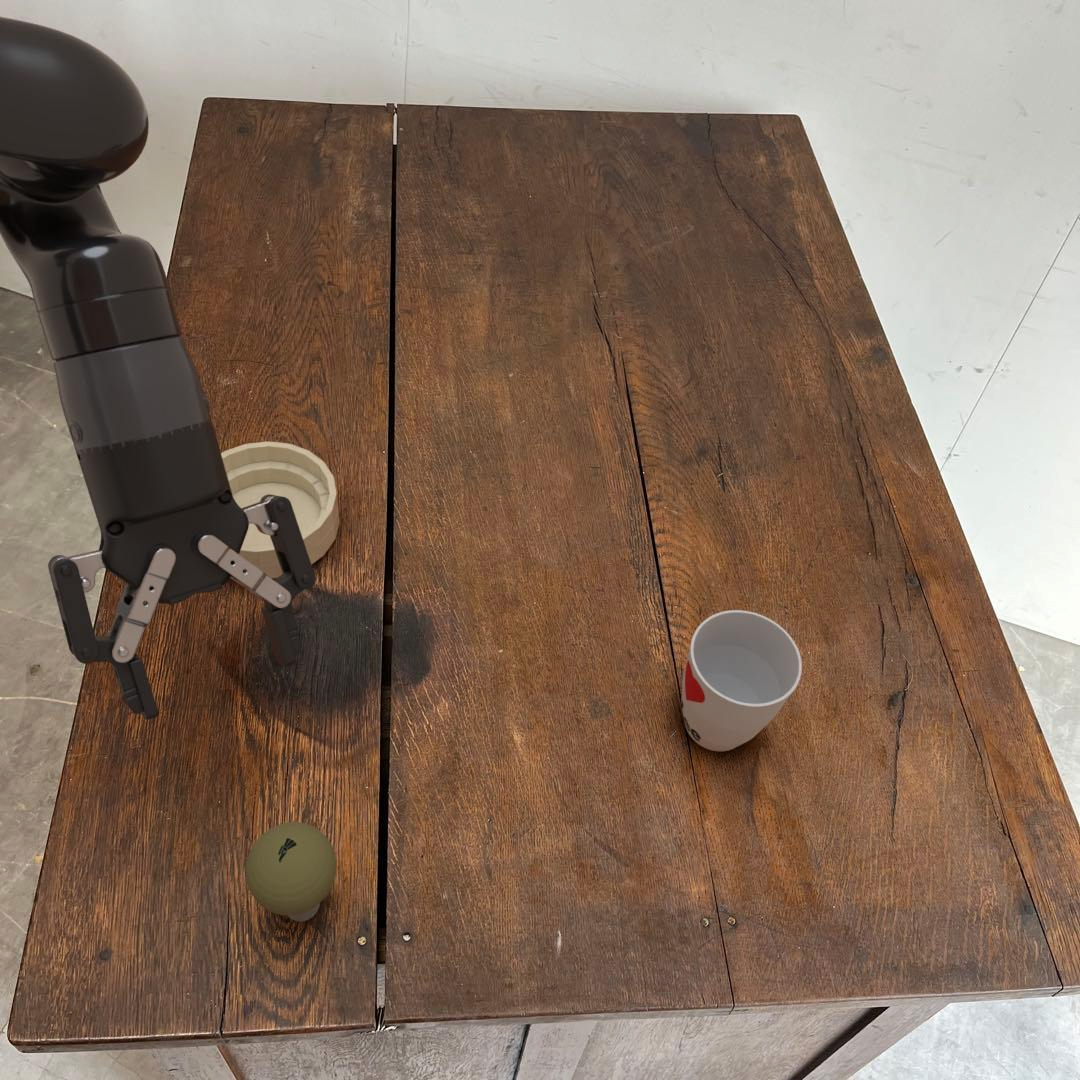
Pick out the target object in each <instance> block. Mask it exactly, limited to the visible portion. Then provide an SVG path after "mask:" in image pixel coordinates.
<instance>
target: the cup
mask: <svg viewBox="0 0 1080 1080" xmlns="http://www.w3.org/2000/svg"><path fill="white" fill-rule="evenodd" d="M802 670H803V663H802V657H801V654H800V650H799V648H798V646H797V644H796V642H795V641H794V639H793V638H792V637H791V635H790V633H788V632H787V631H786V630H785V629H784V628H783V627H782V626H781V625H779V624H778V623H777V622H775V621H774V620H773V619H770V618H769V617H766V616H764V615H762V614H760V613H757V612H754V611H748V610H742V609H732V610H724V611H721V612H717V613H714V614H713V615H710V616H709V617H707V618H706V619H705V620H703V621H702V622H701V623H700V624H699V626H697V628H696V629H695V631H694V633H693V636H692V638H691V642H690V645H689V650H688V653H687V657H686V661H685V664H684V669H683V671H682V683H681V684H682V685H681V697H680V704H681V705H680V706H681V707H680V708H681V711H682V712H681V713H682V717H683V721H684V727H685V728H686V731H687V733H688V735H689V736H690V738H691V739H692V740H693V741H694V742H695V743H696V744H697V745H698V746H700V747H702V748H704V749H706V750H709V751H713V752H727V751H732V750H734V749H735V748H737V747H739V746H741V745H744V744H745V743H747V742H749V741H751V740H752V739H753V738H754V737H756V736H757V735H758V734H759V733H760V732H762V730H763V729H765V727H766V726H768V725H769V724H770V723H771V721H773V719H775V717H776V716H777V715H778V713H779V712H780V711H781V709H782V708H783V707H784V705H785V704H786V702H787V701H788V699H789V698H790V697H791V695H792V694H793V693H794V691H795V690H796V688H797V686H798V685H799V683H800V680H801V676H802V672H803V671H802Z"/></svg>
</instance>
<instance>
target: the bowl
mask: <svg viewBox="0 0 1080 1080" xmlns="http://www.w3.org/2000/svg"><path fill="white" fill-rule="evenodd" d="M221 456H222V459H223V463H224V466H225V470H226V473H227V477H228V480H229V484H230V488H231V491H232V495H233V498H234V500H235V501H236V503H237V504H238V506H239V507H240V508H244V507H247V506H250V505H252V504H255V503H258V502H260V500H261V499H262V497H263V496H265V495H268V494H270V495H276V496H282V497H286V498H288V499H289V500H290V502H291V505H292V508H293V511H294V514H295V517H296V520H297V523H298V526H299V529H300V532H301V535H302V538H303V541H304V544H305V547H306V550H307V553H308V556H309V559H310V562H311V565H312V566H313V564H314V563H316V562H317V561H319V560H320V559H321V558H322V557H323V556H325V555H326V553H327V552H328V550H329V549H330V548H331V546H332V545H333V543H334V542H335V540H336V538H337V535H338V530H339V528H340V523H341V522H340V521H341V520H340V511H339V504H338V503H339V502H338V493H337V488H336V481H335V476H334V475H333V473H332V472H331V470H330V469H329V467H328V466H327V464H326V462H325V461H324V460H323V459H321V458H320V457H319V456H317V455H316V454H315V453H313V452H311V451H310V450H308V449H306V448H303V447H300V446H298V445H295V444H292V443H288V442H287V443H286V442H279V441H278V442H277V441H260V442H259V441H258V442H249V443H244V444H241V445H238V446H235V447H232V448H230V449H227V450H224V451H222V452H221ZM239 555H240V556H242V557H243V558H244V559H246V560H247V561H249V562H250V563H251V564H253V565H254V566H256V567H257V568H258V569H260V570H261V571H263V572H264V573H265V574H266V575H267V576H268V577H270V578H271V579H272V580H273V579H277V578H278V577H279V576H281V575H282V574H283V572H282V569H281V567H280V564H279V561H278V558H277V555H276V552H275V549H274V546H273V543H272V540H271V537H270V535H266V534H263V533H261V532H259V530H258V529H257V527H256V526H255V525H254V524H253V523H252V524H249V528H248V531H247V534H246V537H245V539H244V542H243V545H242V547H241V550H240V553H239Z"/></svg>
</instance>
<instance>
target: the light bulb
mask: <svg viewBox="0 0 1080 1080" xmlns="http://www.w3.org/2000/svg"><path fill="white" fill-rule="evenodd" d="M337 863H338V862H337V857H336V851H335V849H334V846H333V844H332V843H331V841H330V840H329V838H328V837H327V835H325V834H324V833H323V832H322V831H321V830H320V829H318V828H316V827H315V826H314V825H311V824H308V823H305V822H300V821H289V822H288V821H287V822H283V823H279V824H277V825H274V826H273V827H271V828H269V829H268V830H265V832H263V833H262V834H261V835H260V836H259V837H258V839H257V840H256V841H255V842H254V844H253V845H252V847H251V849H250V851H249V853H248V856H247V859H246V864H245V881H246V884H247V888H248V890H249V892H250V894H251V896H252V897H253V899H254V900H255V901H256V902H257V903H258V905H260V906H261V907H262V908H263V909H265V910H266V911H268V912H270V913H273V914H276V915H280V916H287V917H288V918H289V919H290V920H292V921H295V922H306V921H308V920H310V919H312V918H313V917H314V916H315V915H316V914H317V912H318V911H319V909H320V905H321V903H322V902H323V900H324V899H325V898H326V897H327V896H328V894H329V892H331V889H332V887H333V885H334V883H335V879H336V875H337V867H338V866H337Z"/></svg>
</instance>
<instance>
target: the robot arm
mask: <svg viewBox="0 0 1080 1080" xmlns="http://www.w3.org/2000/svg"><path fill="white" fill-rule="evenodd" d="M149 125H150V123H149V113H148V109H147V106H146V103H145V100H144V98H143V96H142V94H141V92H140V90H139V88H138V87H137V85H136V83H135V82H134V80H133V79H132V78H131V77H130V75H129V74H128V72H127V71H125V69H124V68H123V67H122V66H121V65H120V64H119V63H117V62H116V61H115V60H114V59H113V58H111V57H110V56H109V55H108V54H106V53H105V52H104V51H102V50H100V49H99V48H97V47H96V46H94V45H93V44H91V43H89V42H87V41H86V40H83V39H81V38H79V37H77V36H74V35H72V34H70V33H67V32H65V31H62V30H58V29H56V28H52V27H49V26H46V25H42V24H38V23H33V22H29V21H25V20H20V19H15V18H11V17H5V16H0V236H1V238H2V241H3V242H4V243H5V246H6V248H7V249H8V251H9V253H10V254H11V256H12V257H13V259H14V261H15V262H16V264H17V265H18V267H19V268H20V270H21V272H22V273H23V275H24V277H25V278H26V281H27V282H28V284H29V286H30V291H31V293H32V297H33V298H32V299H33V302H34V305H35V310H36V313H38V314H37V316H38V319H39V322H40V327H41V328H42V333H43V335H44V338H45V339H44V340H45V341H46V345H47V349H48V351H49V355H50V357H51V360H52V361H53V367H54V372H55V376H56V382H57V383H56V384H57V389H58V395H59V400H60V405H61V409H62V412H63V416H64V418H65V422H66V425H67V428H68V431H69V435H70V438H71V441H72V444H73V448H74V451H75V453H76V456H77V460H78V463H79V466H80V469H81V472H82V475H83V479H84V482H85V485H86V489H87V492H88V495H89V498H90V501H91V505H92V507H93V508H92V509H93V510H94V514H95V517H96V519H97V520H96V521H97V524H98V527H99V531H100V543H99V547H98V549H97V550H92V551H89V552H84V553H83V552H82V553H79V554H75V555H71V556H67V555H63V554H58V555H55V556H53V557H51V558H50V559H49V561H48V563H47V568H48V573H49V576H50V580H51V583H52V588H53V593H54V596H55V599H56V600H55V601H56V603H57V604H56V605H57V607H58V611H59V614H60V615H59V616H60V619H61V623H62V627H63V631H64V634H65V638H66V642H67V646H68V650H69V652H70V653H71V654H72V655H73V656H74V657H75V659H76V660H77V661H78V662H79V663H81V664H83V665H89V664H92V663H101V662H103V663H109V664H111V666H112V669H113V672H114V676H115V678H116V681H117V685H118V687H119V690H120V693H121V697H122V700H123V703H124V704H125V705H126V706H127V708H128V709H129V710H130V711H131V712H132V713H133V715H138V714H140V715H141V716H142V717H143V718H144V719H145V720H146V721H150V720H152V719H155V718H158V717H160V713H159V709H158V706H157V703H156V699H155V696H154V693H153V690H152V687H151V684H150V681H149V678H148V674H147V670H146V668H145V664H144V661H143V658H141V657H140V656H139V655H138V654H137V653H136V651H137V649H138V646H139V645H140V641H141V639H142V637H143V634H144V631H145V629H146V628H147V626H149V624H150V623H151V620H152V617H153V616H154V613H155V610H156V608H157V605H158V604H163V605H169V606H172V605H175V604H179V603H182V602H184V601H186V600H187V599H189V598H190V597H192V596H194V595H195V594H205V593H207V594H208V593H213V592H215V591H219V590H221V589H223V586H224V585H225V584H226V583H227V582H228V581H229V580H232V581H233V582H235V583H237V584H238V585H240V586H241V587H242V588H244V589H245V590H247V591H248V592H250V593H251V594H253V595H254V596H255V597H257V598H258V599H260V600H261V601H262V602H263V604H264V606H261V607H260V610H261V614H262V617H263V621H264V625H265V627H266V631H267V635H268V639H269V642H270V645H271V649H272V653H273V657H274V658H275V662H276V663H277V664H278V665H280V666H282V667H283V668H285V669H286V668H289V667H291V666H295V665H296V664H297V662H298V661H297V657H296V655H298V654H300V653H301V652H302V645H303V643H302V639H301V636H300V632H299V628H298V625H297V621H296V618H295V614H294V610H293V601H294V599H295V598H296V596H297V595H299V594H301V592H303V591H304V590H306V589H310V588H312V587H314V585H315V583H316V574H315V571H314V568H313V564H312V565H311V562H310V559H309V556H308V553H307V550H306V547H305V544H304V541H303V538H302V535H301V532H300V529H299V526H298V523H297V520H296V517H295V514H294V511H293V508H292V505H291V502H290V500H289V499H288V498H286V497H282V496H276V495H270V494H268V495H265V496H263V497H262V499H261V500H260V502H258V503H255V504H252V505H250V506H247V507H244V508H240V507H239V506H238V504H237V503H236V501H235V500H234V498H233V495H232V491H231V488H230V484H229V480H228V477H227V473H226V470H225V466H224V463H223V459H222V456H221V453H222V452H221V449H220V445H219V442H218V438H217V435H216V432H215V428H214V424H213V421H212V417H211V414H210V413H211V411H210V410H211V407H210V401H209V399H208V395H207V394H206V392H205V391H204V388H203V385H202V381H201V378H200V374H199V373H198V369H197V367H196V365H195V363H194V360H193V358H192V356H191V353H190V351H189V348H188V346H187V343H186V340H185V338H184V337H183V331H182V329H181V324H180V321H179V318H178V314H177V311H176V307H175V303H174V299H173V296H172V292H171V290H170V285H169V282H168V277H167V274H166V272H165V271H166V270H165V268H164V266H163V263H162V261H161V257H160V256H159V254H158V252H157V250H156V248H154V247H153V245H152V244H151V243H150V242H149V241H147V240H146V239H144V238H141V237H140V236H137V235H132V234H128V233H127V234H126V233H122V232H121V231H120V229H119V227H118V225H117V222H116V220H115V218H114V216H113V214H112V211H111V210H110V208H109V206H108V204H107V202H106V198H105V196H104V195H103V191H102V189H101V185H103V184H106V183H108V182H109V181H112V180H114V179H116V178H118V177H119V176H121V175H123V174H124V173H125V172H127V171H128V170H129V169H130V168H131V167H132V166H133V165H134V164H135V163H136V161H137V160H139V157H140V156H141V154H142V153H143V151H144V149H145V147H146V145H147V141H148V136H149ZM252 523H253V524H254V525H255V526H256V527H257V529H258V530H259V532H261V533H263V534H266V535H270V537H271V540H272V543H273V546H274V549H275V552H276V555H277V558H278V561H279V564H280V567H281V569H282V572H283V574H282V575H281V576H279V577H278V578H274V579H273V578H272V579H271V578H270V577H268V576H267V575H266V574H265V573H264V572H263V571H261V570H260V569H258V568H257V567H256V566H254V565H253V564H251V563H250V562H249V561H247V560H246V559H244V558H243V557H242V556H240V555H239V553H240V550H241V547H242V545H243V542H244V539H245V537H246V534H247V531H248V528H249V524H252ZM103 568H104V569H105V570H106V571H108V572H109V573H111V574H112V575H113V576H115V577H116V578H118V579H119V580H121V581H123V582H124V583H125V586H124V588H123V590H122V593H121V595H120V598H119V600H118V604H117V606H116V609H115V616H114V618H113V620H112V623H111V625H110V629H109V630H108V634H107V635H96V634H95V630H94V626H93V622H92V618H91V614H90V610H89V607H88V603H87V598H86V595H85V594H86V593H89V592H91V591H93V589H94V587H95V586H96V575H97V573H98V571H100V570H101V569H103Z"/></svg>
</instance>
